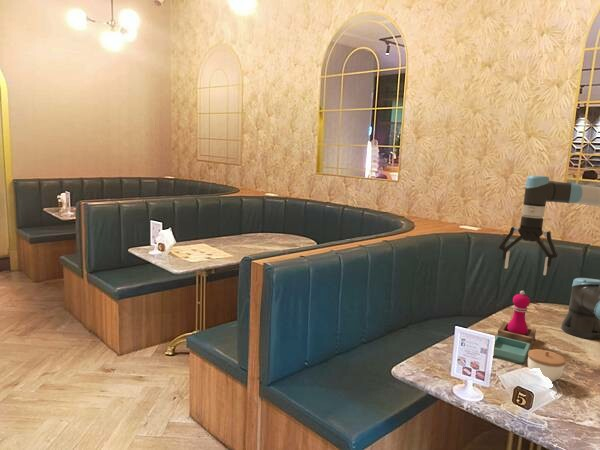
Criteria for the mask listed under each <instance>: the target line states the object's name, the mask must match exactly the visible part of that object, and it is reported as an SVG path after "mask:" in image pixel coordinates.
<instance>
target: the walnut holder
mask: <svg viewBox="0 0 600 450" xmlns="http://www.w3.org/2000/svg"><path fill="white" fill-rule="evenodd" d="M508 324H509V322H506V321H503V323H502V324H501V325H500V327H499V329H498V330H497V336H501V337H506V338H510V339H514V340H518V341H522V342H526V343H530V350H532V347H533V344H534V342H535V339H536V335H537V334H536V333H537V329H536V328H532V327H528V326H527V328H528V332H527V334H525V335H520V334H516V333H512V332H509V331H508V329H507V327H508Z"/></svg>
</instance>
